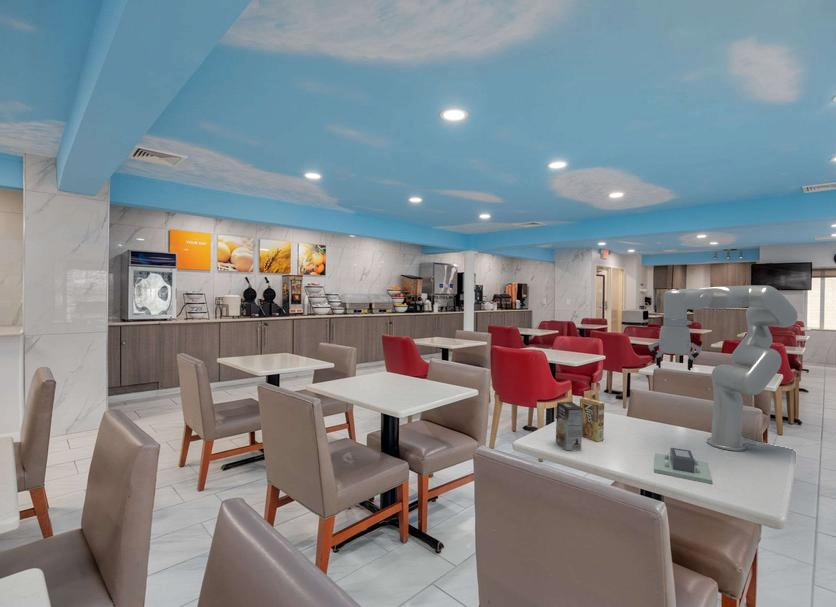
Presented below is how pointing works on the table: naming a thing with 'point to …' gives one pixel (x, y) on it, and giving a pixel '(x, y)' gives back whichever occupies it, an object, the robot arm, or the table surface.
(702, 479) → the pin tray
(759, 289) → the robot arm
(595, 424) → the candy box
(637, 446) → the table surface
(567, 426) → the coffee box
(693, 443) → the table surface
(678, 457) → the block
